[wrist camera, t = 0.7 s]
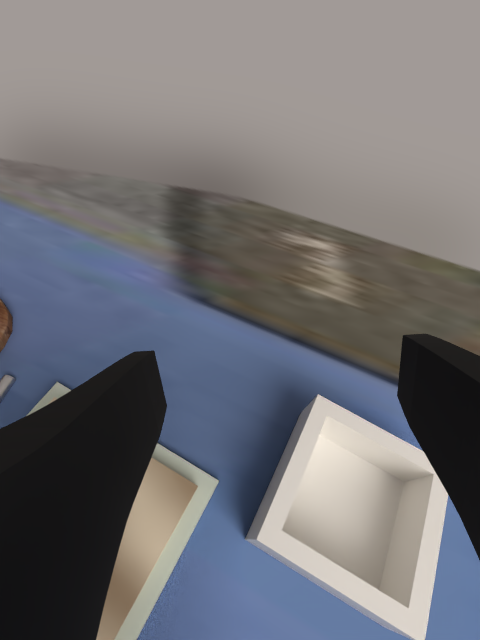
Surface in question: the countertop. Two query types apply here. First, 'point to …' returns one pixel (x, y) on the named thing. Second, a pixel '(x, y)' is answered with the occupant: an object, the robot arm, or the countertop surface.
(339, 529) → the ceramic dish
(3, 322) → the chopping board
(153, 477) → the birch lid
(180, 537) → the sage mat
